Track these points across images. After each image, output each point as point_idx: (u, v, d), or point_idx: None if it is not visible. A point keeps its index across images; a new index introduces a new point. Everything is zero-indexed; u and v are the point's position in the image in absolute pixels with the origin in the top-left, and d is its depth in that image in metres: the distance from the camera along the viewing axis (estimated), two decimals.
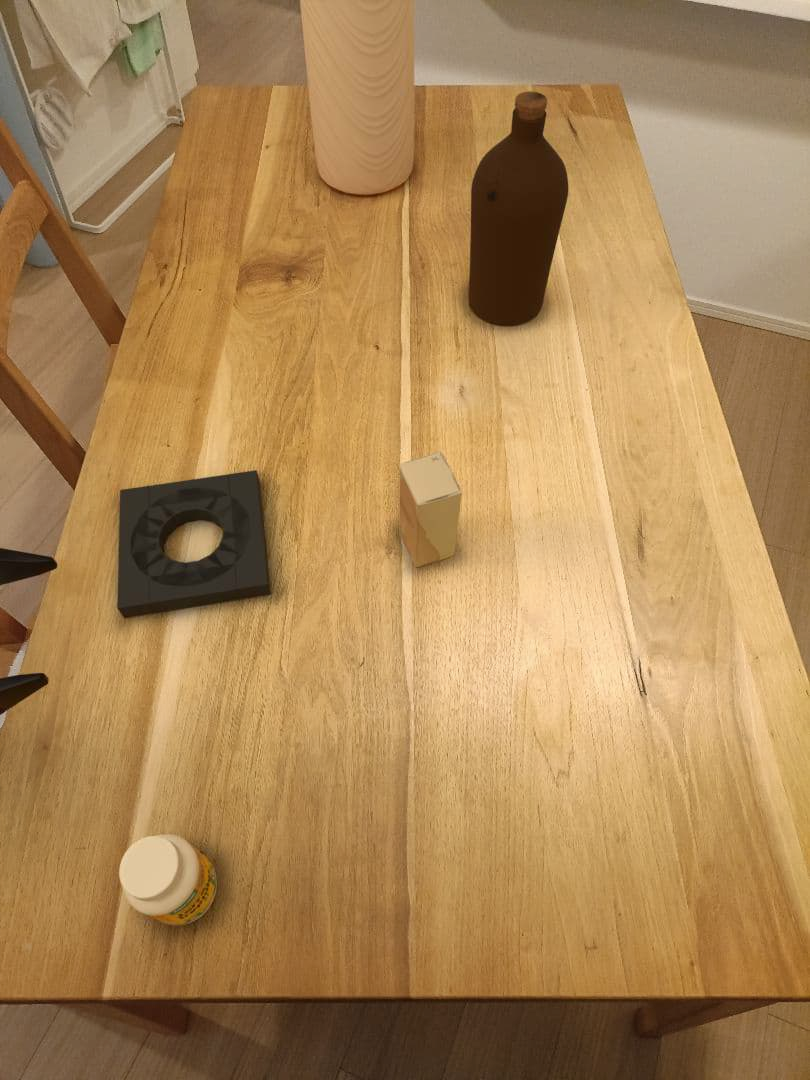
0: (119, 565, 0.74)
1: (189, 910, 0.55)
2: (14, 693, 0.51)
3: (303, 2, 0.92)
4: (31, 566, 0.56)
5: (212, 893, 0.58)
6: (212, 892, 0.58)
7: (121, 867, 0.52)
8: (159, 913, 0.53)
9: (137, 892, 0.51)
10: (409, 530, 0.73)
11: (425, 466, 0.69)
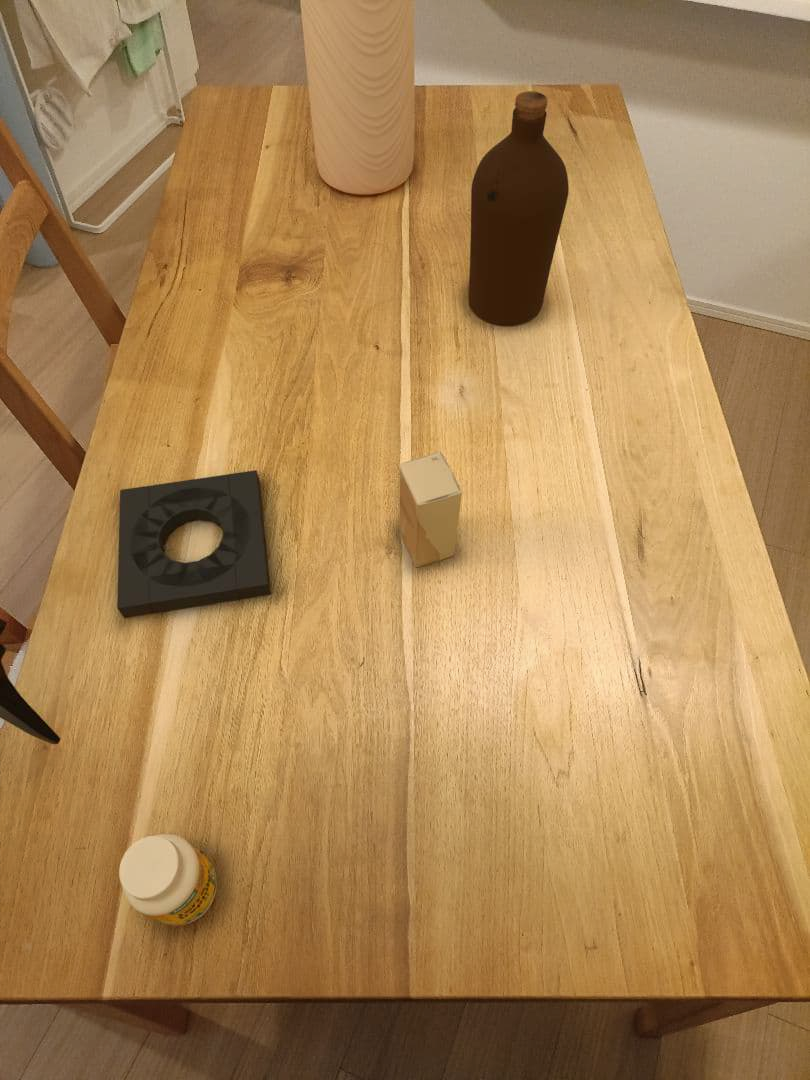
0: (119, 565, 0.74)
1: (189, 910, 0.55)
2: None
3: (303, 2, 0.92)
4: (36, 734, 0.51)
5: (212, 893, 0.58)
6: (212, 892, 0.58)
7: (121, 867, 0.52)
8: (159, 913, 0.53)
9: (137, 892, 0.51)
10: (409, 530, 0.73)
11: (425, 466, 0.69)
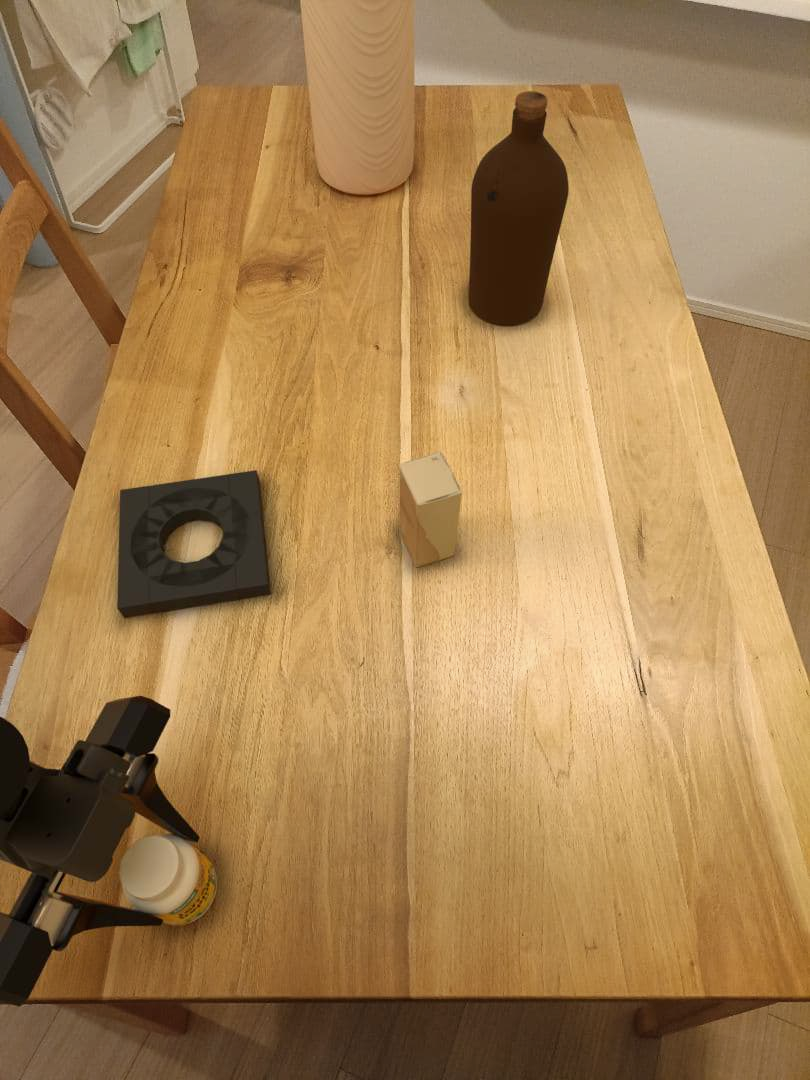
0: (119, 565, 0.74)
1: (189, 910, 0.55)
2: None
3: (303, 2, 0.92)
4: (178, 834, 0.55)
5: (212, 893, 0.58)
6: (212, 892, 0.58)
7: (121, 867, 0.52)
8: (159, 913, 0.53)
9: (137, 892, 0.51)
10: (409, 530, 0.73)
11: (425, 466, 0.69)
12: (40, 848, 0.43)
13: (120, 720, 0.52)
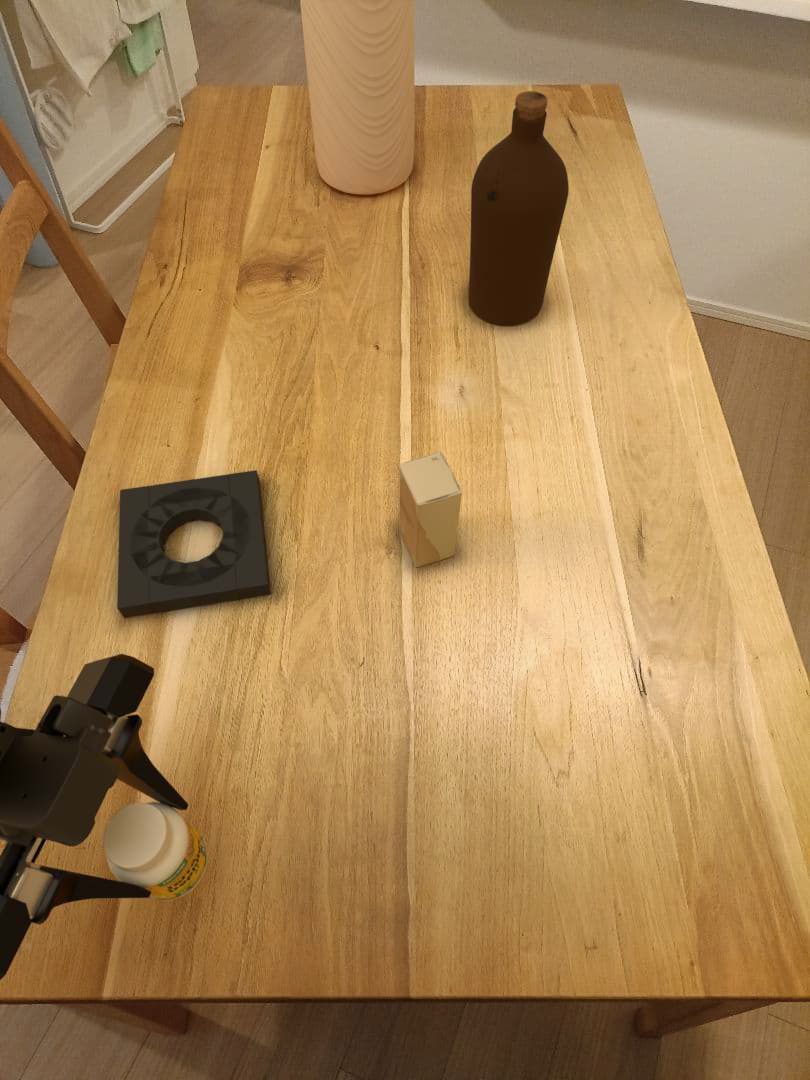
0: (119, 565, 0.74)
1: (179, 882, 0.52)
2: None
3: (303, 2, 0.92)
4: (166, 801, 0.51)
5: (203, 865, 0.55)
6: (203, 864, 0.55)
7: (105, 836, 0.48)
8: (147, 885, 0.49)
9: (123, 862, 0.48)
10: (409, 530, 0.73)
11: (425, 466, 0.69)
12: (15, 810, 0.40)
13: (100, 679, 0.48)
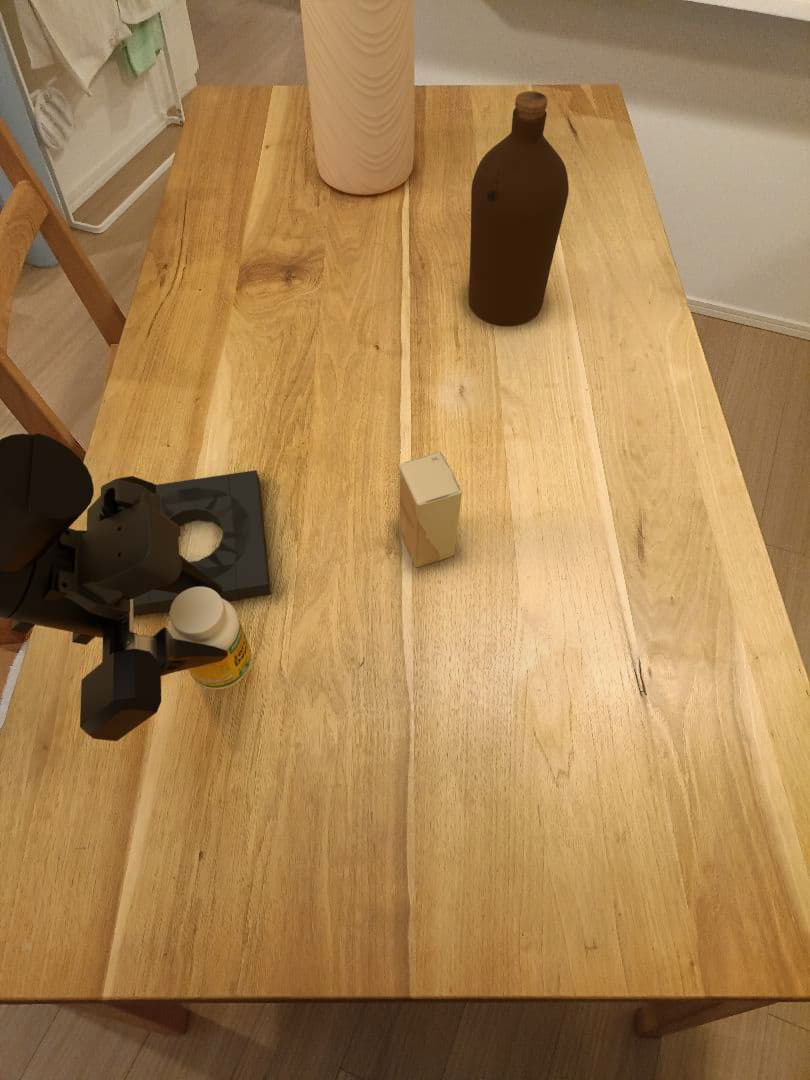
0: None
1: (240, 652, 0.61)
2: (203, 660, 0.57)
3: (303, 2, 0.92)
4: None
5: (249, 646, 0.65)
6: None
7: (173, 620, 0.57)
8: None
9: (198, 628, 0.56)
10: (409, 530, 0.73)
11: (425, 466, 0.69)
12: (118, 565, 0.48)
13: None
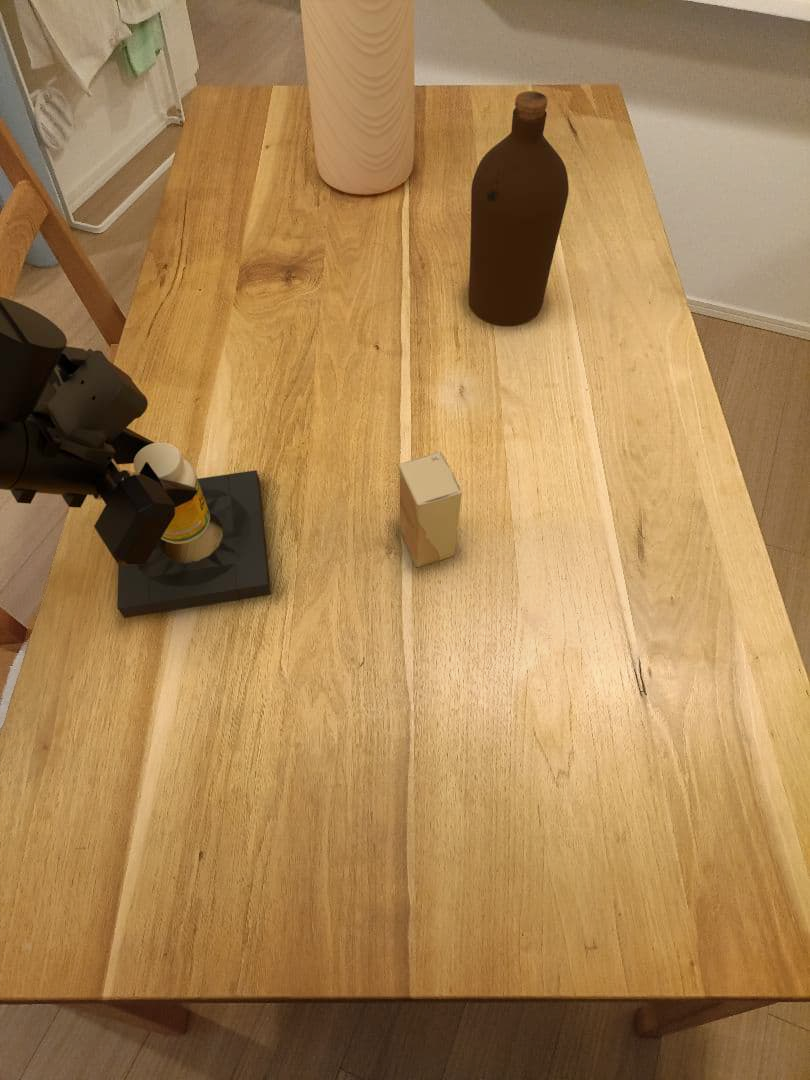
0: (119, 565, 0.74)
1: (202, 496, 0.71)
2: (180, 497, 0.65)
3: (303, 2, 0.92)
4: None
5: None
6: None
7: None
8: None
9: (166, 471, 0.65)
10: (409, 530, 0.73)
11: (425, 466, 0.69)
12: (97, 404, 0.56)
13: (51, 384, 0.63)
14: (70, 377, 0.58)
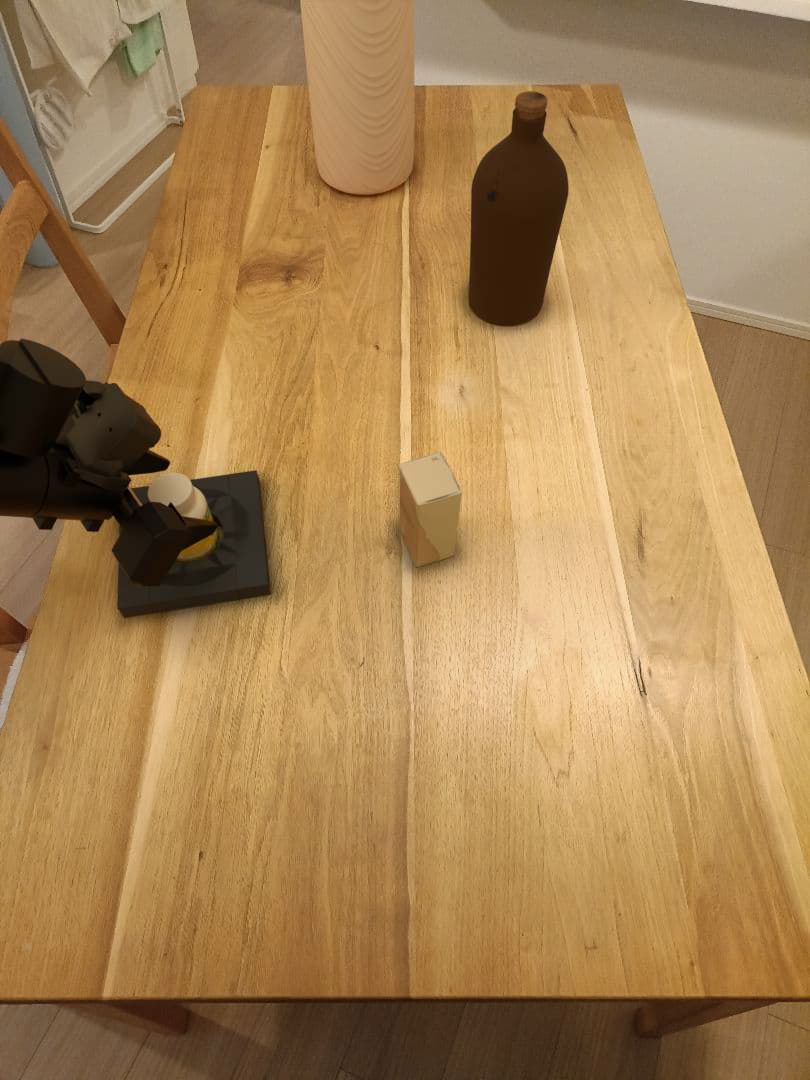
0: (119, 565, 0.74)
1: None
2: (202, 532, 0.68)
3: (303, 2, 0.92)
4: (156, 462, 0.72)
5: None
6: None
7: None
8: (200, 517, 0.71)
9: (179, 500, 0.68)
10: (409, 530, 0.73)
11: (425, 466, 0.69)
12: (114, 436, 0.59)
13: None
14: (87, 409, 0.61)
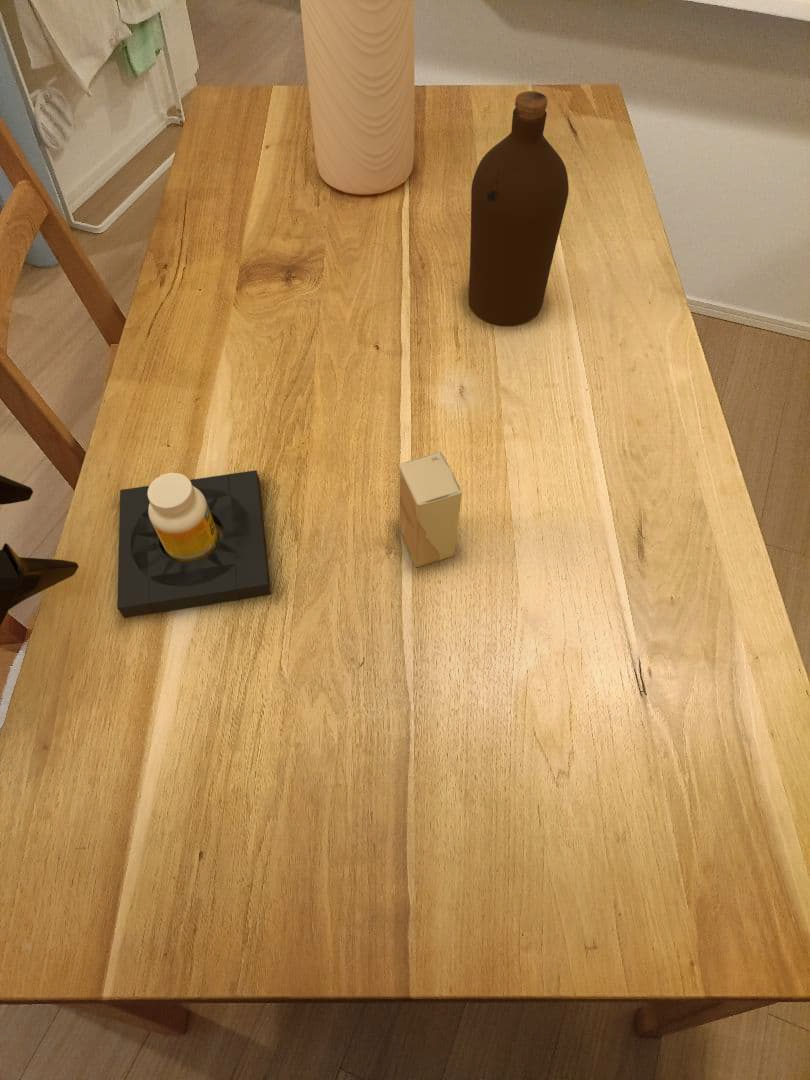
0: (119, 565, 0.74)
1: (212, 522, 0.74)
2: (56, 575, 0.59)
3: (303, 2, 0.92)
4: (14, 492, 0.63)
5: None
6: None
7: (155, 503, 0.68)
8: (200, 517, 0.71)
9: (179, 501, 0.68)
10: (409, 530, 0.73)
11: (425, 466, 0.69)
12: None
13: None
14: None
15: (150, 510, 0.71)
